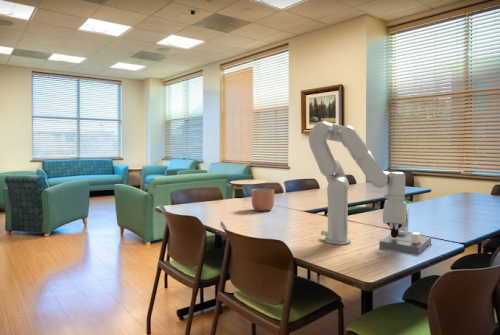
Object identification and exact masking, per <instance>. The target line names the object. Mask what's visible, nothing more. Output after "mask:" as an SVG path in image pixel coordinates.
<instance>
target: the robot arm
mask: <svg viewBox="0 0 500 335" xmlns="http://www.w3.org/2000/svg"><path fill="white" fill-rule="evenodd" d="M328 140H329V141H333V142H337V143H338V142H339V143H341V144H342V146H344V148H345V149H346V151H347V152H348V153H349V156H351V158H352V159H353V161H354V162H355V163H356V165H357V166H358V168H359V169H360V170H361V171H362V172H361V173H363V174H364V176H365V177H366V179H367V180H368V181H369V182H370V184H371V185H372V187H373V188H374V187H375V188H376V189H382V188H385V187H387V194H384V196H383V197H384V198H385V201H384V204H383V211H382V223H383V224H385V225H387V226H388V227H389V229H390V235H392V238H393V237H394V238H396V237H397V236H398V230H399V228H400V227H404V226H407V208H408V207H407V206H408V205H407V202H406V201H405V197H406V194H405V193H406V174H405V173H404V172H401V171H384V170H383V169H382V168H381V166H380V165H379V164H378V163H377V161H376V160H375V158H374V156H373V154H372V152H371V150H370V148H369V147H368V146H367V144H366V143H365V142H364V140H363V139H362V138H361V136H360V134H359V133H357V131H356V129H355V128H354V127H353V126H351V125H341V124H336V123H330V122H327V121H324V120H323V121H319V122H317V123H316V124H314V125H313V127H312V128H311V129H310V131H309V135H308V144H309V147H310V150H311V152H312V155H313V156H314V159H315V162H316V163H317V166H318V169H319V171H320V173H321V174H322V175H323V176H324V177H325V178H326V181H327V183H328V185H327V186H326V188H327V190H326V192H327V193H326V195H327V231H326V230H321V231H320V236H325V237H324V242H326V243H327V244H331V245H347V244H350V243H351V242H352V239H351V238H349V237H348V231H349V230H348V225H349V224H348V221H349V220H348V216H349V215H348V213H349V212H348V210H349V208H348V205H349V204H348V201H349V199H348V193H349V192H348V190H349V188H350V184H349V179H348V177H347V176H346V173H345V172H344V169H343V167H342V165H341V163H340V161H339V160H338V159H337V158H335V156H334V155H333V153H332V151H331V149H330V147H329V144H328V142H327V141H328ZM394 223H396V226H395V227H394Z"/></svg>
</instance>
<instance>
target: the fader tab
mask: <svg viewBox="0 0 500 335" xmlns="http://www.w3.org/2000/svg"><path fill="white" fill-rule="evenodd" d="M410 234H411V243H416V244H418V243H420V242H421V236H422V232H419V231H413V232H412V233H410Z"/></svg>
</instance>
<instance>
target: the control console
mask: <svg viewBox="0 0 500 335" xmlns="http://www.w3.org/2000/svg"><path fill="white" fill-rule="evenodd" d="M411 234H412V233H408V234H405V231H398V236H397V237H396V238H394V237H393V238H392V235H391V234H389V235H387V236H385V237H384V238H382V239H381V240H379V248H381V249H386V250H390V251H391V250H392V251H398V252H404V253H409V254H415V255H420V254H421V253H422V252H423V251H424V250H426V248H428V247H429V246H430V245H431V244H432V237H431V236H424V235H421V242H420V243H418V244H416V243H411Z"/></svg>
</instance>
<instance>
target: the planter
mask: <svg viewBox="0 0 500 335" xmlns="http://www.w3.org/2000/svg"><path fill="white" fill-rule="evenodd" d="M250 192H251V193H250V194H251V195H250V196H251V197H250V198H251V207H252V208H253V209H254V210H255V211H256V210H257V212H269V211H271V210H272V209H273V207H274V204H275V189H273V188H253V189H251V190H250Z"/></svg>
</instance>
